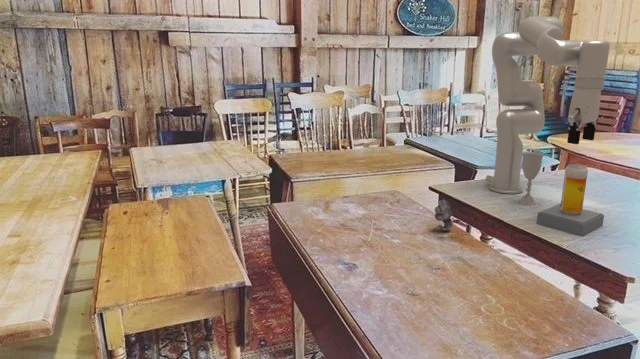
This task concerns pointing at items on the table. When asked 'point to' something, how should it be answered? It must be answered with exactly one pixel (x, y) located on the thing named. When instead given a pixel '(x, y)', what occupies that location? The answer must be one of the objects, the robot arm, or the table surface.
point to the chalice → (530, 172)
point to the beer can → (574, 189)
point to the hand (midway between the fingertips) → (580, 141)
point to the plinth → (570, 220)
